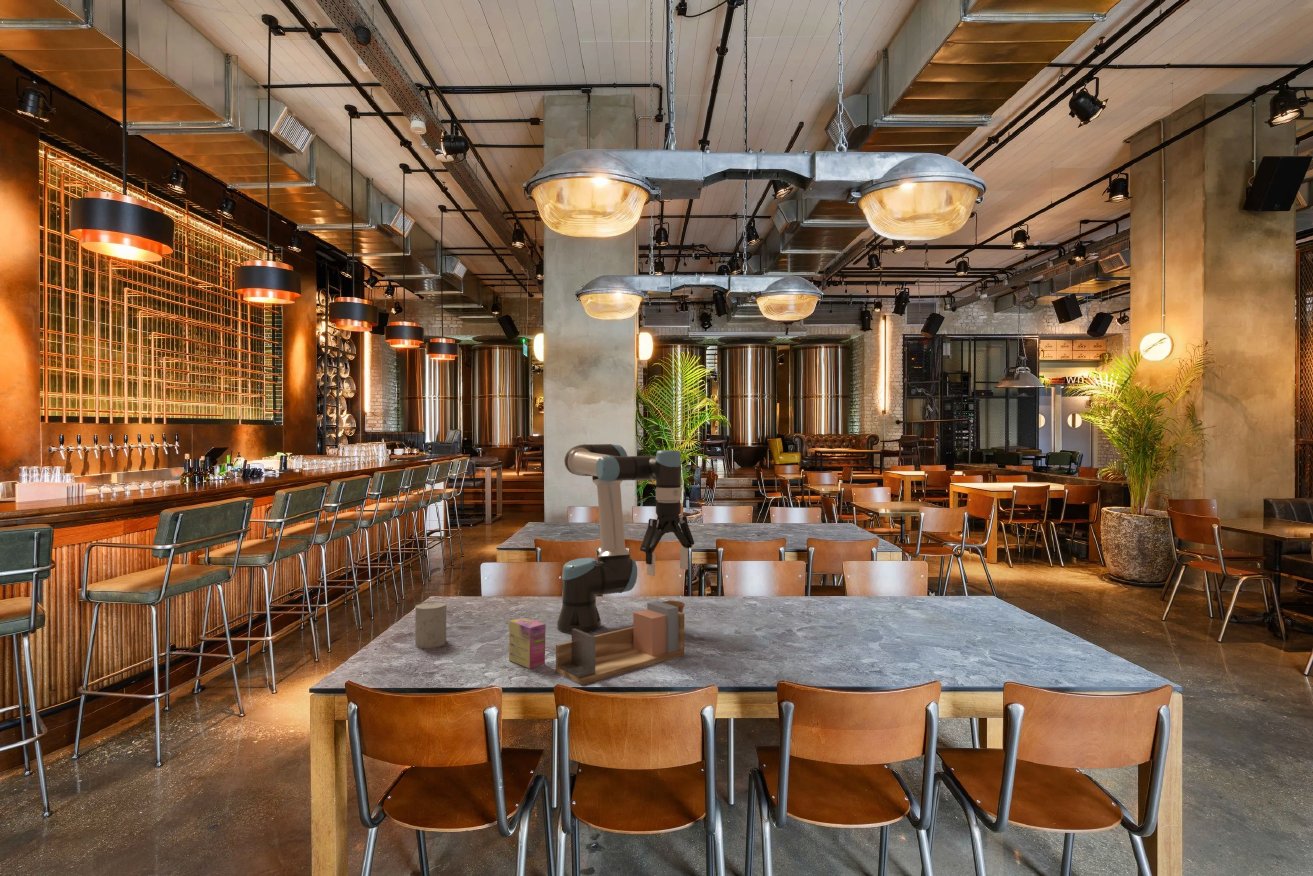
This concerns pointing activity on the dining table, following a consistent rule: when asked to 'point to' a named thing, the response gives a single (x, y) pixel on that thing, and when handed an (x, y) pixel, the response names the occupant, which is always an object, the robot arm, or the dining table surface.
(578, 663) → the bookend
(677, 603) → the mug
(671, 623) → the row books
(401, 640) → the dining table surface
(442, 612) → the grey stone cylinder
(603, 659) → the wooden desk organizer
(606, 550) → the robot arm
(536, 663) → the box
